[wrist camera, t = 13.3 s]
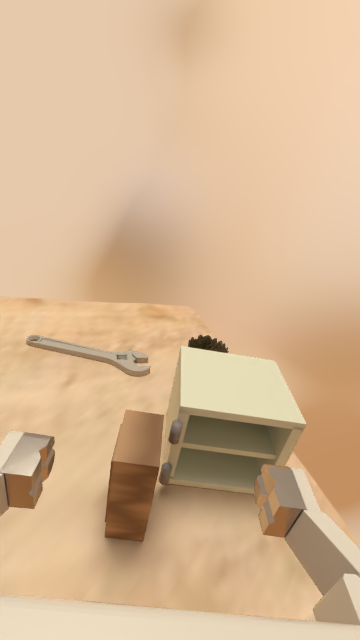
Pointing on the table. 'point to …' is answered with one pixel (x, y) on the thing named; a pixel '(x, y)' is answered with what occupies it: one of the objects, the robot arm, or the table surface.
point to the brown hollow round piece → (207, 344)
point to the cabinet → (227, 421)
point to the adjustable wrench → (95, 354)
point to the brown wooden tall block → (133, 475)
